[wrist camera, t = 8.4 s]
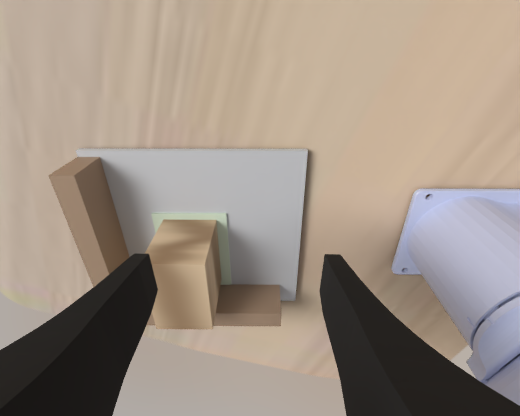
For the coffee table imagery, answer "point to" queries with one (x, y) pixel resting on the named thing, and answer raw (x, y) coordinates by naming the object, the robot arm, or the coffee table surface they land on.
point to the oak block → (185, 274)
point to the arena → (194, 216)
